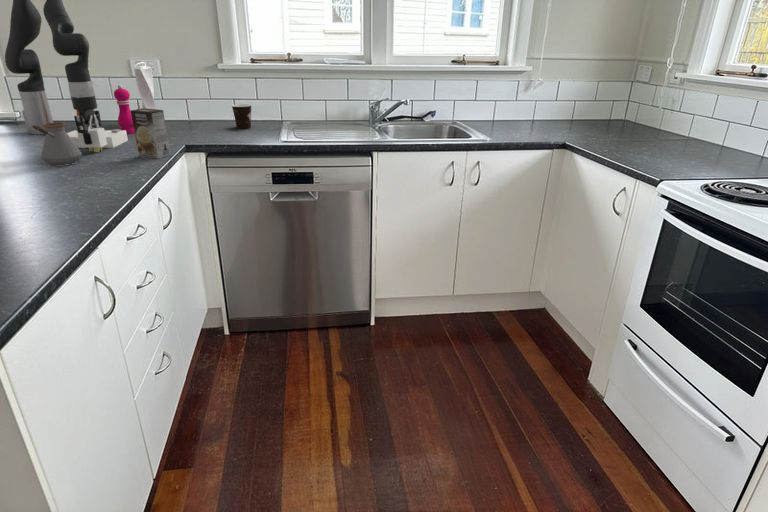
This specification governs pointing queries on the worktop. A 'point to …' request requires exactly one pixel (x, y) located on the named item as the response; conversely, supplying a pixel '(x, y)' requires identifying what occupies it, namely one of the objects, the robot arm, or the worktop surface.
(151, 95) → the skyscraper
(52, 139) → the coffee pot
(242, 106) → the coffee mug
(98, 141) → the plug
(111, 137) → the socket
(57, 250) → the worktop surface
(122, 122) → the pepper mill
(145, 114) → the coffee box
